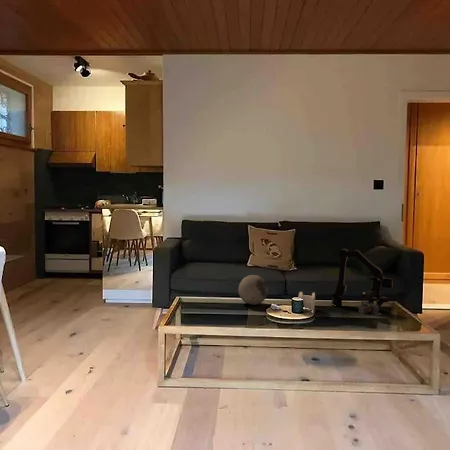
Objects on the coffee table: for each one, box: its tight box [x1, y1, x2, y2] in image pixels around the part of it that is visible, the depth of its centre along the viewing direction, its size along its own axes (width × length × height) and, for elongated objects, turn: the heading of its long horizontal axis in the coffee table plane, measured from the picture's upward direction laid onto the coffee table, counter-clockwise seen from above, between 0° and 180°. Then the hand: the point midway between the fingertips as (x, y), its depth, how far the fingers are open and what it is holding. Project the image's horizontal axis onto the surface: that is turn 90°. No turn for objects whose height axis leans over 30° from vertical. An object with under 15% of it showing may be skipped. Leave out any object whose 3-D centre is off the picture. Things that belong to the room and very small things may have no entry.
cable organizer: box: [297, 291, 316, 312], centre depth 347 cm, size 15×11×12 cm
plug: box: [358, 305, 371, 315], centre depth 354 cm, size 14×4×4 cm, turn 123°
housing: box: [357, 300, 382, 317], centre depth 354 cm, size 18×4×6 cm, turn 30°
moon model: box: [238, 274, 269, 306], centre depth 357 cm, size 20×20×20 cm
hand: (374, 309), depth 356 cm, fingers open, 5 cm apart
